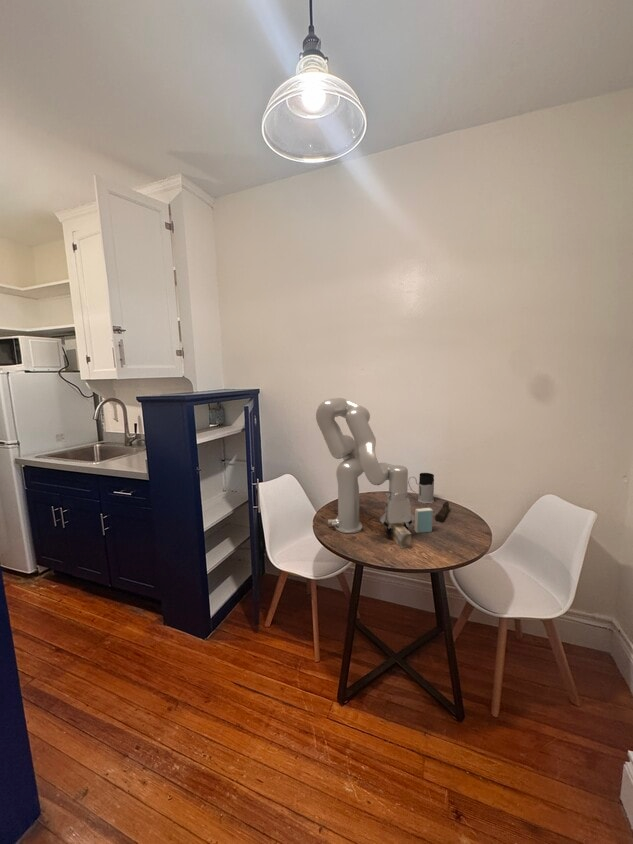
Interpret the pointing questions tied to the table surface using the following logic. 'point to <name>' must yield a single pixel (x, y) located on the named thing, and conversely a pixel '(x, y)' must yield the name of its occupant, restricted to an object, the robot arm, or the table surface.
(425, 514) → the white and teal block
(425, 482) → the glass holder
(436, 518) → the hand tool
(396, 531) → the grey-capped beige stick
